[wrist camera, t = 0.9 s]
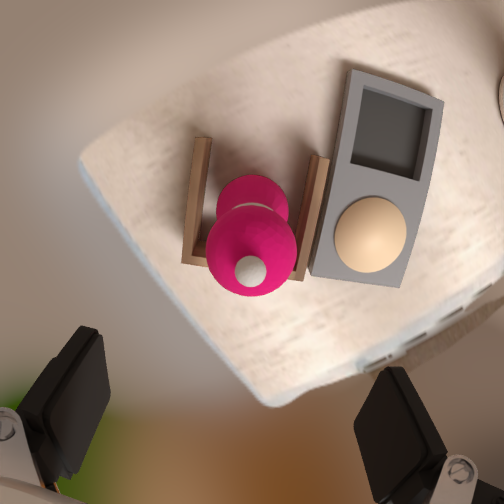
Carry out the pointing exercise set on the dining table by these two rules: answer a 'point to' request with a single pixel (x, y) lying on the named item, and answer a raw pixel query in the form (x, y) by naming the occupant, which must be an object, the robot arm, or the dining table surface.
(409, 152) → the gray portable music player
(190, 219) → the wooden u-shaped frame
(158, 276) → the dining table surface
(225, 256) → the pepper mill
